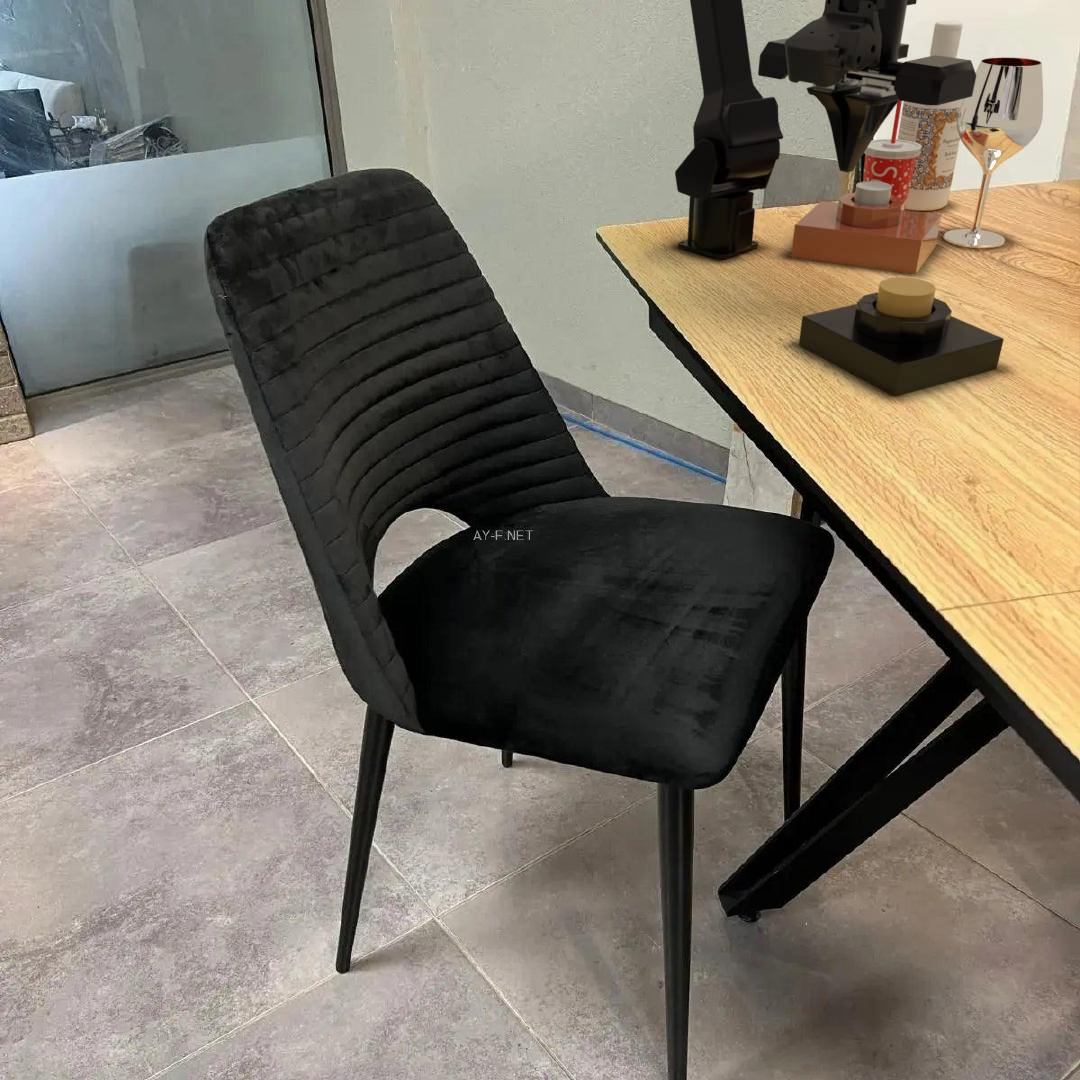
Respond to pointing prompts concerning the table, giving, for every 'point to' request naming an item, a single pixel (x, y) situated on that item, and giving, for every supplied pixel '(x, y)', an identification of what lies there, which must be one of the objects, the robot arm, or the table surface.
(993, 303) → the table surface
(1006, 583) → the table surface
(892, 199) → the button housing
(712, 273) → the table surface
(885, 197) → the white cylinder
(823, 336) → the black push button base
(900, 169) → the beverage cup
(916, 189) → the bath foam
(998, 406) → the table surface
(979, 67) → the wineglass
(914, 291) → the yellow cylinder
